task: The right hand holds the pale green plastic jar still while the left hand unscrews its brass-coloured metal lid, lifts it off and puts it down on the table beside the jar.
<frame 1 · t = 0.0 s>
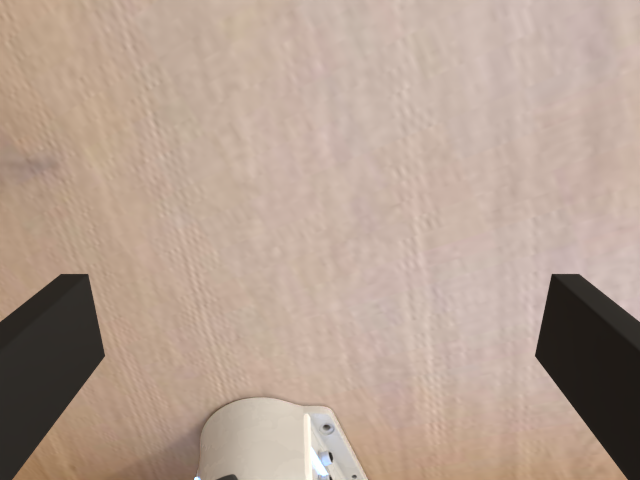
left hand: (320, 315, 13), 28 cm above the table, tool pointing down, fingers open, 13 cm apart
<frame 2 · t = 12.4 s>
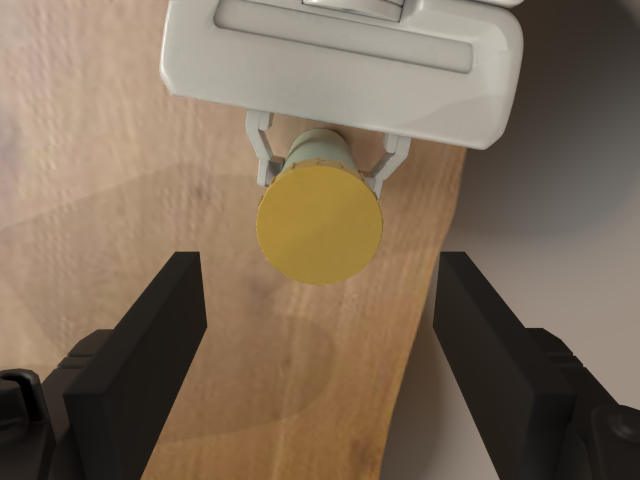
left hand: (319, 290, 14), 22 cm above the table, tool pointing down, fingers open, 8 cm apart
right hand: (318, 193, 29), fingers closed on jar, 5 cm apart
lid: (319, 225, 20), point 16 cm above the table, screwed on, not yet turned
jar: (319, 160, 35), on the table, touching right hand
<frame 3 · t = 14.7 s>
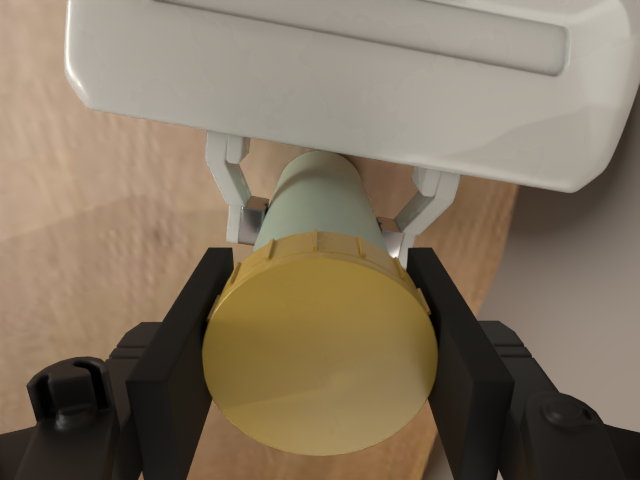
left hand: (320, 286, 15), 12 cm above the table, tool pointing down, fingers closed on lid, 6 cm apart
right hand: (317, 251, 20), fingers closed on jar, 5 cm apart
lid: (320, 357, 11), point 16 cm above the table, screwed on, not yet turned, touching left hand
jar: (320, 193, 26), on the table, touching right hand
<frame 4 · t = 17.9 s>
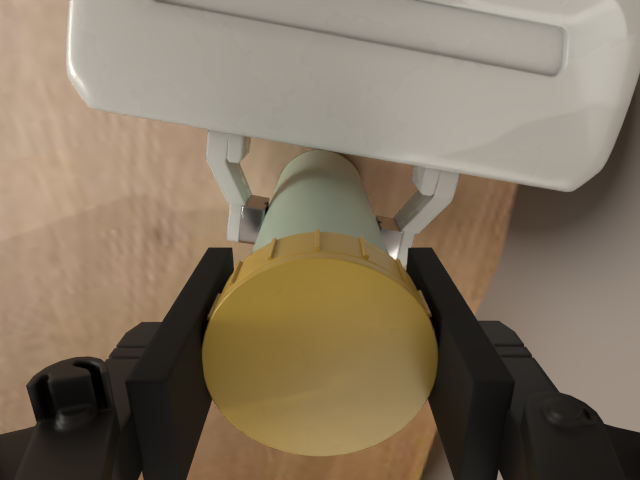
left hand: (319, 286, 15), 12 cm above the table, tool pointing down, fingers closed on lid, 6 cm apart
right hand: (317, 250, 20), fingers closed on jar, 5 cm apart
lid: (320, 358, 11), point 16 cm above the table, turned 111° so far, risen 0.2 cm, still on its thread, touching left hand
jar: (320, 192, 26), on the table, touching right hand
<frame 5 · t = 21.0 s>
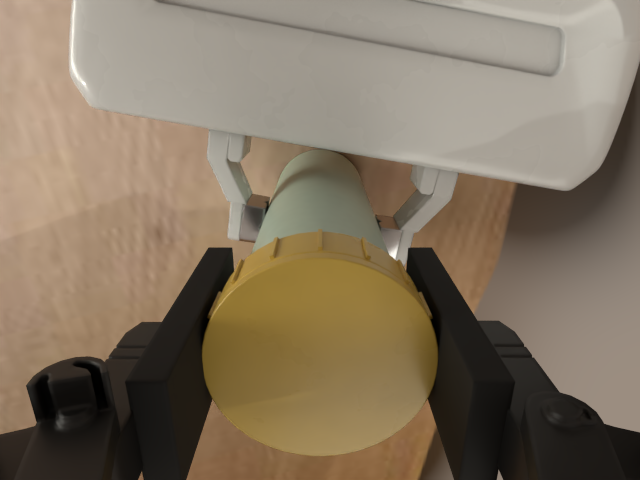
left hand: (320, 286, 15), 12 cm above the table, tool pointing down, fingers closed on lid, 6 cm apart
right hand: (317, 249, 20), fingers closed on jar, 5 cm apart
lid: (319, 358, 11), point 16 cm above the table, turned 223° so far, risen 0.3 cm, still on its thread, touching left hand
jar: (320, 191, 26), on the table, touching right hand
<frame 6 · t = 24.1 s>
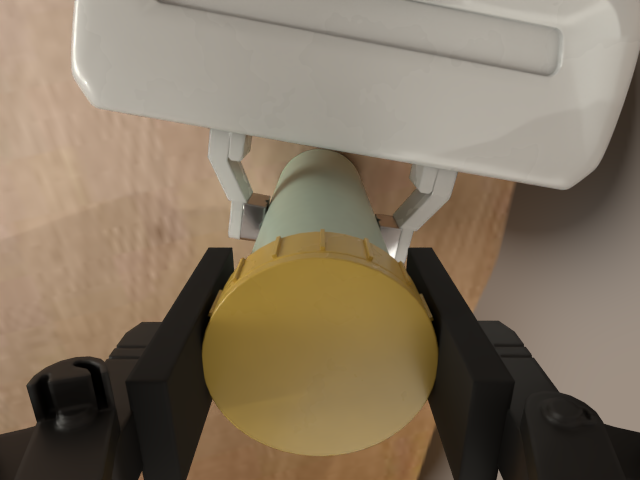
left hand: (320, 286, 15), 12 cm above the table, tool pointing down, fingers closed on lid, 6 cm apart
right hand: (317, 247, 20), fingers closed on jar, 5 cm apart
lid: (320, 358, 11), point 16 cm above the table, turned 334° so far, risen 0.5 cm, still on its thread, touching left hand
jar: (320, 191, 26), on the table, touching right hand
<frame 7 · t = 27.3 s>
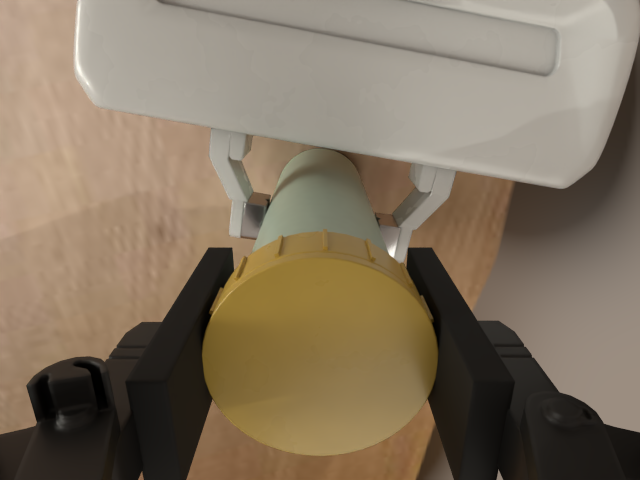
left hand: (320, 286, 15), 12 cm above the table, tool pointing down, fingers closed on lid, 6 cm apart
right hand: (317, 246, 20), fingers closed on jar, 5 cm apart
lid: (320, 357, 11), point 16 cm above the table, turned 445° so far, risen 0.6 cm, still on its thread, touching left hand
jar: (320, 190, 26), on the table, touching right hand
when the left hand's fingers open (0 cm above the table, at t = 34.4 s): lid drops 3 cm, point 1 cm above the table.
when the right hand's fingers open (7 cm above the table, at t = 35.0 s): jar stays where it is, on the table.
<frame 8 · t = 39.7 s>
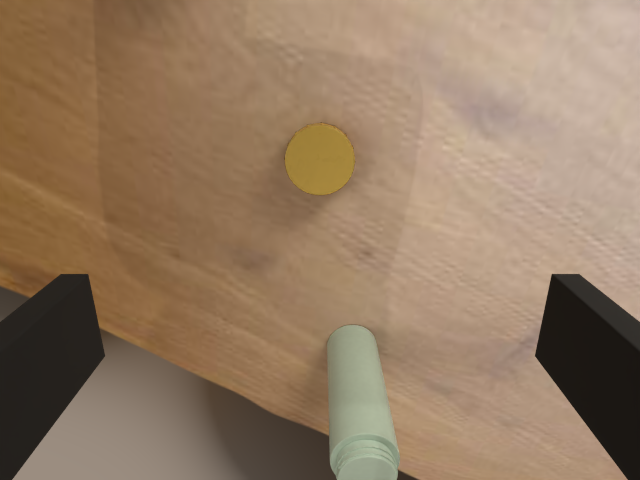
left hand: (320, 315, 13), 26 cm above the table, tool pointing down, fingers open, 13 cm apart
lid: (319, 160, 36), point 1 cm above the table, off its thread
jar: (351, 345, 44), on the table
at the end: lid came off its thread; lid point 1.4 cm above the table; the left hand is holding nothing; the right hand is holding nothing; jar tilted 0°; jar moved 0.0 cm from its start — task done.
